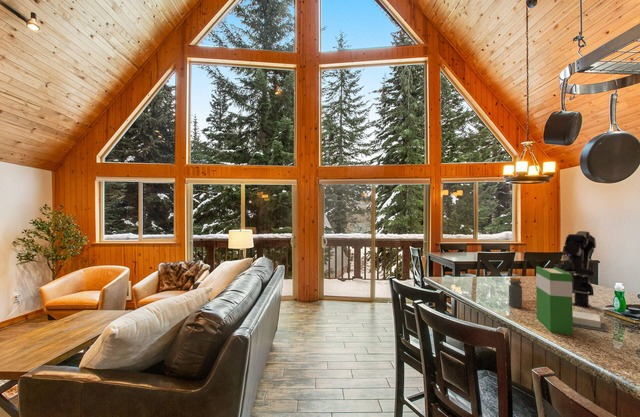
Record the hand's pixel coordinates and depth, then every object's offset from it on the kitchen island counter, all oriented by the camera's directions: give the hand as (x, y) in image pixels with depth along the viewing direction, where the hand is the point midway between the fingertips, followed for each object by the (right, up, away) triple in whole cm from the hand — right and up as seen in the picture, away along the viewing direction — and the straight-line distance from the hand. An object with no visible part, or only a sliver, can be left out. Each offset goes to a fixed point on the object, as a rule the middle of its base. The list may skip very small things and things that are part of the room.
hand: (574, 290), depth 151 cm
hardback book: (-25, -10, -19) cm, 33 cm away
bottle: (-23, -11, +10) cm, 27 cm away
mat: (-10, -10, -16) cm, 22 cm away
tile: (-6, -8, -11) cm, 15 cm away
